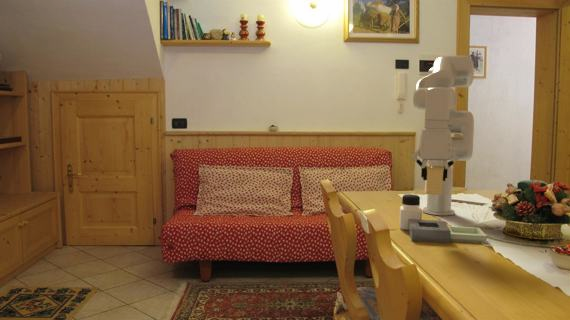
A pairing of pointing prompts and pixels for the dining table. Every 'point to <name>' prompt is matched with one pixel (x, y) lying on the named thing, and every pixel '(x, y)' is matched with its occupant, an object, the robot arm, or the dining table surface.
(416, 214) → the medicine bottle
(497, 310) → the dining table surface
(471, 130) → the robot arm
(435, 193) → the tan rectangular block
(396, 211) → the dining table surface
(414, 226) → the rail plate
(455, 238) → the parts tray
